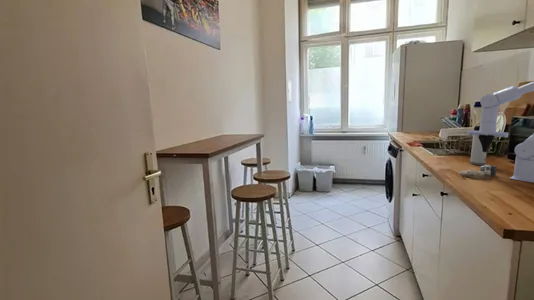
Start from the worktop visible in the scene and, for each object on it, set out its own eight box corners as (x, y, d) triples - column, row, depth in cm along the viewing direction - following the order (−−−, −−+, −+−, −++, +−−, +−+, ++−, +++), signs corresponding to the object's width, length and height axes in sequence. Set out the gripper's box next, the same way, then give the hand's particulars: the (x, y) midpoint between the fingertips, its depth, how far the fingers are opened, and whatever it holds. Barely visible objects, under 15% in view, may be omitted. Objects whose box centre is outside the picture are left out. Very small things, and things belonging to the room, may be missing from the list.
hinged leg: (485, 173, 123) (485, 167, 123) (479, 172, 125) (479, 166, 125) (491, 170, 127) (491, 164, 127) (485, 169, 129) (485, 164, 129)
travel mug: (488, 165, 144) (493, 125, 141) (473, 165, 146) (478, 125, 142) (481, 162, 150) (486, 124, 147) (467, 162, 152) (471, 124, 148)
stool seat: (493, 176, 124) (494, 169, 124) (485, 180, 118) (486, 173, 117) (464, 171, 133) (465, 165, 132) (455, 175, 126) (456, 168, 126)
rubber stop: (495, 174, 126) (496, 166, 125) (493, 175, 125) (495, 167, 124) (491, 174, 127) (492, 165, 127) (490, 175, 126) (491, 166, 125)
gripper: (511, 122, 125) (507, 152, 127) (471, 120, 136) (468, 148, 138) (507, 123, 120) (503, 154, 123) (467, 121, 131) (464, 150, 133)
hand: (484, 151), depth 130 cm, fingers closed
